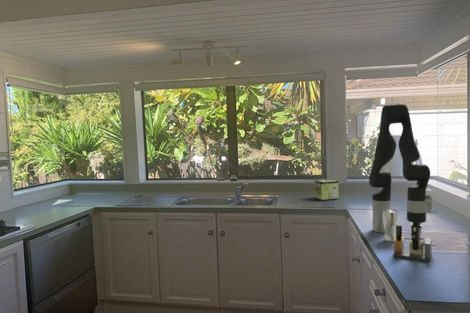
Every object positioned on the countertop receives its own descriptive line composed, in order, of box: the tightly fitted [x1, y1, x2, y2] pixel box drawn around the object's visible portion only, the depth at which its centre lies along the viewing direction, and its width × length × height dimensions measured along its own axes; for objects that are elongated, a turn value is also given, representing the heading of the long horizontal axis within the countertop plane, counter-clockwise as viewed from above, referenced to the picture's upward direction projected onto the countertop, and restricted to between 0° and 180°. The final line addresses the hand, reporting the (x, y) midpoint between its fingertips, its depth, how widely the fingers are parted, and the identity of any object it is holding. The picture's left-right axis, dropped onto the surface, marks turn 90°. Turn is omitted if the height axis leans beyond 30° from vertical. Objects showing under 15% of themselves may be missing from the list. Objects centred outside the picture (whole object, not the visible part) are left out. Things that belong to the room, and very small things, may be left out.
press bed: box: [392, 236, 432, 263], centre depth 159 cm, size 12×14×8 cm
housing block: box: [409, 239, 424, 255], centre depth 159 cm, size 5×5×5 cm
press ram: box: [393, 224, 405, 253], centre depth 162 cm, size 7×3×11 cm, turn 148°
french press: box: [426, 187, 434, 213], centre depth 246 cm, size 10×12×25 cm
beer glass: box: [383, 208, 399, 243], centre depth 182 cm, size 7×7×15 cm
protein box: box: [314, 179, 339, 202], centre depth 295 cm, size 10×16×16 cm
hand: (416, 247), depth 159 cm, fingers open, 8 cm apart
